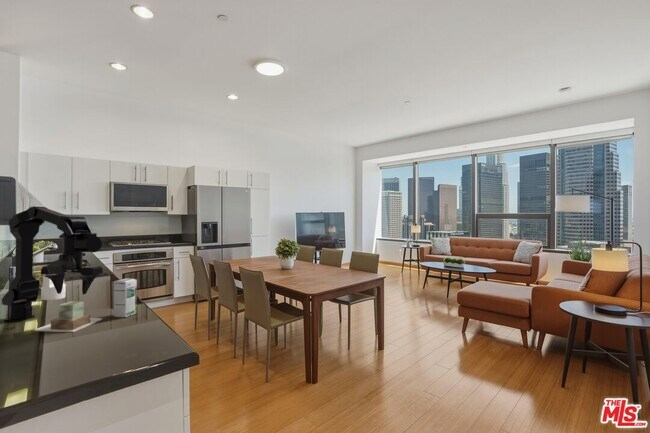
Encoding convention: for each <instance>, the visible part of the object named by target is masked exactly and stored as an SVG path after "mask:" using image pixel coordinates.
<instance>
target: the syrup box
mask: <svg viewBox="0 0 650 433" xmlns="http://www.w3.org/2000/svg"><path fill="white" fill-rule="evenodd" d="M137 283H138V281H137V279H136V278H123V279H118V280H115V281H114V282H113V317H115V318H124V317H126V318H127V317H128V318H129V317H131V316H133V315H136V314H137V295H138V294H137V292H138V290H137V288H138V286H137V285H138V284H137ZM130 315H131V316H130Z"/></svg>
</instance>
